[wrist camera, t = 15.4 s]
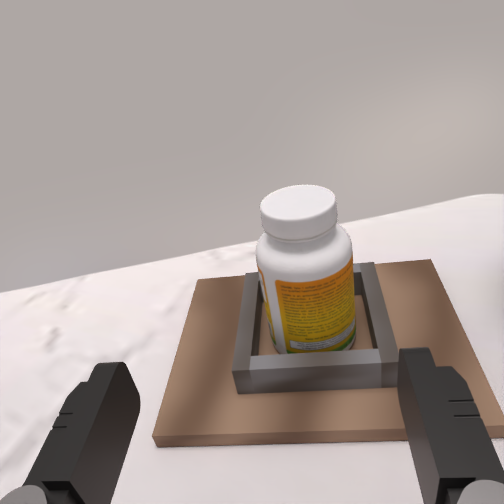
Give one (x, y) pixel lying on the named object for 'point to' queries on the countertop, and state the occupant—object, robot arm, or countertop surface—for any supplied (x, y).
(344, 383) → the dock board
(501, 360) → the countertop surface
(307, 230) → the supplement bottle
